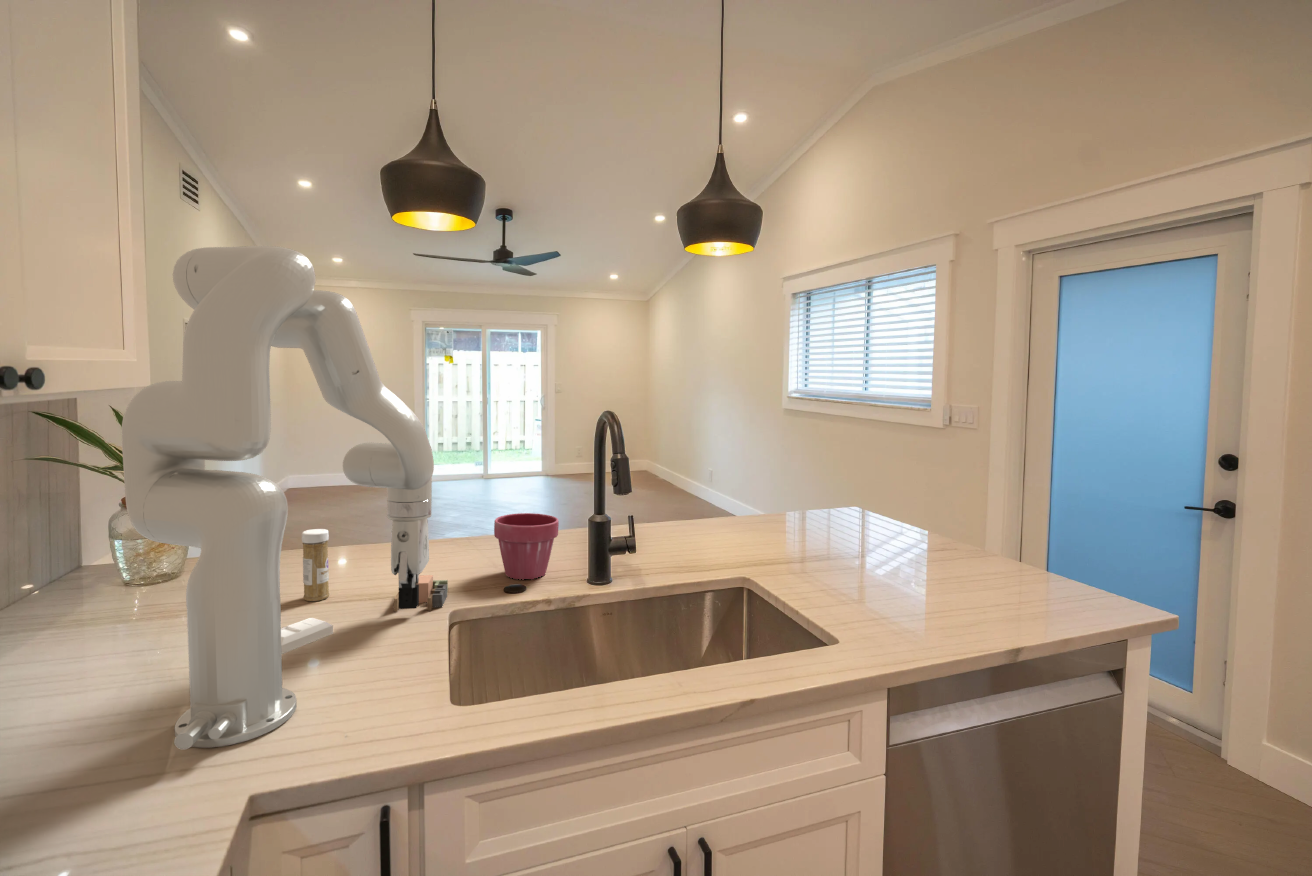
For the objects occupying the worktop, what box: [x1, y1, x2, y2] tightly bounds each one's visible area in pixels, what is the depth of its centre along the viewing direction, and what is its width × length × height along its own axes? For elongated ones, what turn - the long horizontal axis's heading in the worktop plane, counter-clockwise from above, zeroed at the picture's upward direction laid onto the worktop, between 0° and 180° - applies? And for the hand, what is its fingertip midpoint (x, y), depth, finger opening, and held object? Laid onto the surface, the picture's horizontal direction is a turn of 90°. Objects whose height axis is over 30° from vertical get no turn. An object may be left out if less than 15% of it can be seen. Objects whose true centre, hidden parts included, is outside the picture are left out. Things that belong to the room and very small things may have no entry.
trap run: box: [393, 579, 449, 613], centre depth 118 cm, size 10×8×2 cm
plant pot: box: [493, 512, 559, 581], centre depth 136 cm, size 14×14×13 cm
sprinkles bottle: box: [301, 528, 330, 602], centre depth 117 cm, size 5×5×14 cm
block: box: [418, 574, 434, 604], centre depth 120 cm, size 5×4×4 cm
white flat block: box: [281, 617, 334, 655], centre depth 99 cm, size 5×9×3 cm, turn 156°
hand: (408, 606), depth 110 cm, fingers closed
